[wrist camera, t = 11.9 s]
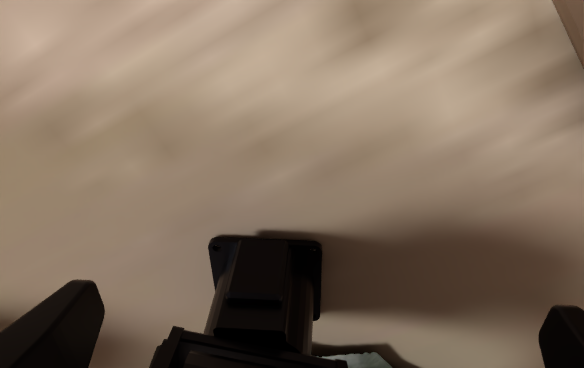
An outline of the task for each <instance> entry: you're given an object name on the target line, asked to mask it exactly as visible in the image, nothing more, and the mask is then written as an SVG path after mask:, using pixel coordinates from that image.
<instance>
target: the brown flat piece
mask: <svg viewBox="0 0 584 368" xmlns="http://www.w3.org/2000/svg"><path fill="white" fill-rule="evenodd" d="M552 1H553V3H554V5H555V8H556V10H557V12H558V14H559V16H560V18H561V20H562V23H563V25H564V27H565V29H566V31H567V33H568V36H569V38H570V40H571V42H572V44H573V46H574V49H575V51H576V53H577V55H578V57H579V59H580V62H581V64H582V66H583V68H584V0H552Z"/></svg>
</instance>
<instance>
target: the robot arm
mask: <svg viewBox="0 0 584 368" xmlns="http://www.w3.org/2000/svg"><path fill="white" fill-rule="evenodd" d="M215 245H219V246H220V247H217V246H215ZM310 249H316V250H315V251H312V250H310ZM208 250H209V256H210V262H211V268H212V274H213V280H214V286H215V295H214V298H213V302H212V305H211V309H210V312H209V316H208V320H207V323H206V327H205V330H204V334H201V333H196V332H191V331H186V330H184V328H181V327H176V326H173V328H172V330H171V332H170V334H169V337H168V339H164V340H163V343H162V345H160V346H157V348H156V351H155V353H154V356H153V359H152V361H151V364H150V367H149V368H348V364H347V361H346V360H341V359H335V360H331V359H326V358H321V357H316V356H311V349H312V326H313V321H316V320H318V319H319V318H320V298H321V268H322V245H321V244H320V243H319V242H317V241H307V240H281V239H255V238H229V237H214V238H212V239H211V240H210V242H209V245H208ZM104 314H105V309H104V304H103V302H102V299H101V296H100V294H99V291H98V289H97V286H96V284H95V283H94V282H93V281H91V280H72V281H70V282H68V283H67V284H66V285H64V286H63V287H61V288H60V289H59V290H57V291H56V292H55V293H53V294H52V295H51V296H49V297H48V298H46V299H45V300H44V301H42V302H41V303H40V304H38V305H37V306H36V307H34V308H33V309H31V310H30V311H29V312H27V313H26V314H25V315H23V316H22V317H21V318H19V319H18V320H16V321H15V322H14V323H12V324H11V325H10V326H8V327H7V328H6V329H4V330H3V331H1V332H0V368H88V366H89V363H90V360H91V357H92V354H93V351H94V347H95V344H96V341H97V338H98V335H99V332H100V328H101V325H102V322H103V319H104ZM539 345H540V349H541V353H542V357H543V361H544V365H545V368H584V311H583V310H582V309H581V308H579V307H577V306H571V305H554V306H553V307H551V309H550V311H549V313H548V315H547V317H546V319H545V321H544V323H543V325H542V327H541V329H540V332H539Z"/></svg>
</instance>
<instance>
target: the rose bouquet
mask: <svg viewBox="0 0 584 368" xmlns="http://www.w3.org/2000/svg"><path fill="white" fill-rule="evenodd" d="M317 357H318V356H317ZM322 358H326V359H331V360H335V359H341V360H346V361H347V364H348V368H392V367H391V366H390V365H389V364H388V363H387V362H386V361H385V360H384V359H383V358H382V357H380V356H379V355H378V354H377V353H375V352H372V353H371V354H368V353H366V352H365V353H364V354H362V355H361V354H353V353H352V354H348V355H336V356H332V355H331V356H330V357H324V356H322Z"/></svg>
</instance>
